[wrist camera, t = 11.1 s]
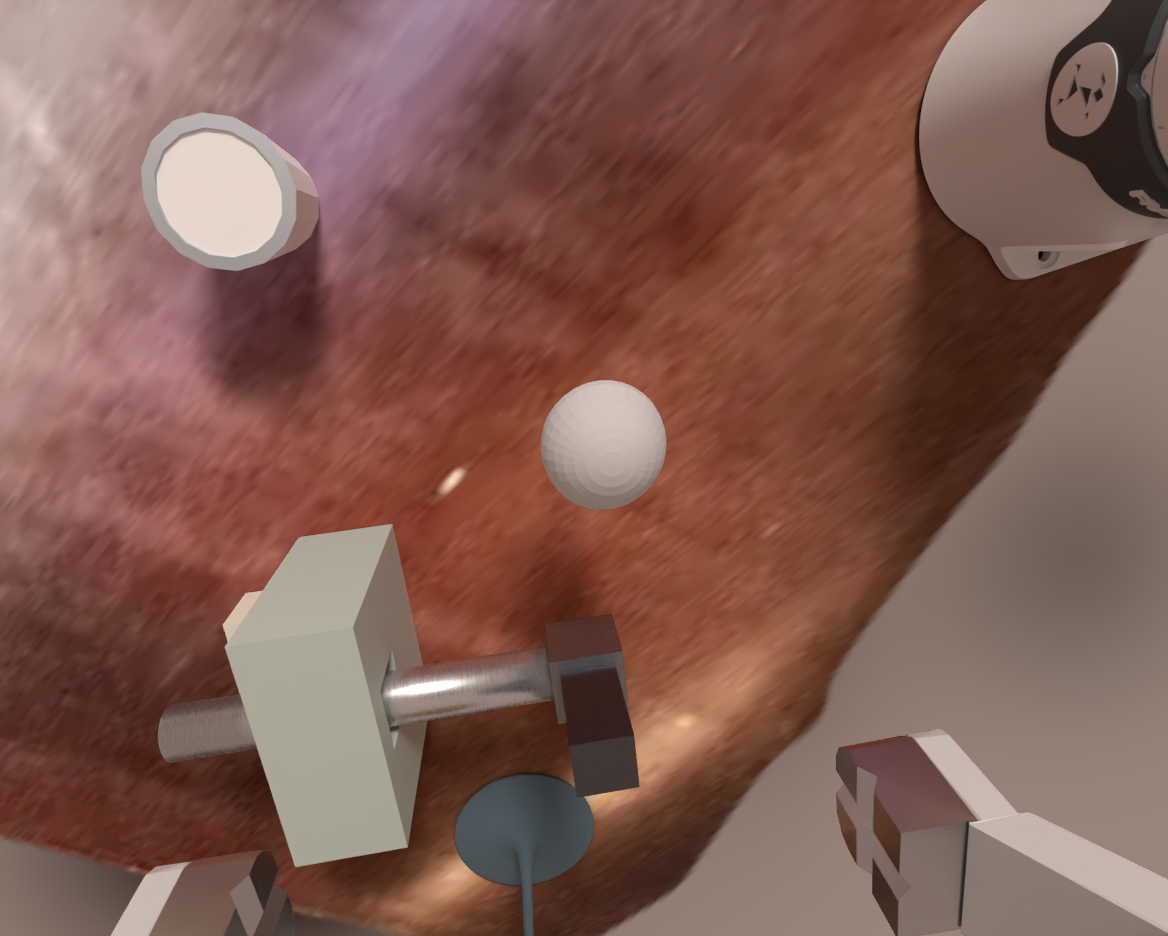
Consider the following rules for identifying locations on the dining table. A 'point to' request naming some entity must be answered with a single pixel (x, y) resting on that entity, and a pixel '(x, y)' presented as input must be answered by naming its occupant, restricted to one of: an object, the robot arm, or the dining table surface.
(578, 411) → the lollipop
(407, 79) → the dining table surface
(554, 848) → the cocktail glass
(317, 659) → the grey slotted block
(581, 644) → the hammer
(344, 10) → the dining table surface
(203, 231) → the white cup
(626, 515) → the dining table surface
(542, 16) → the dining table surface
